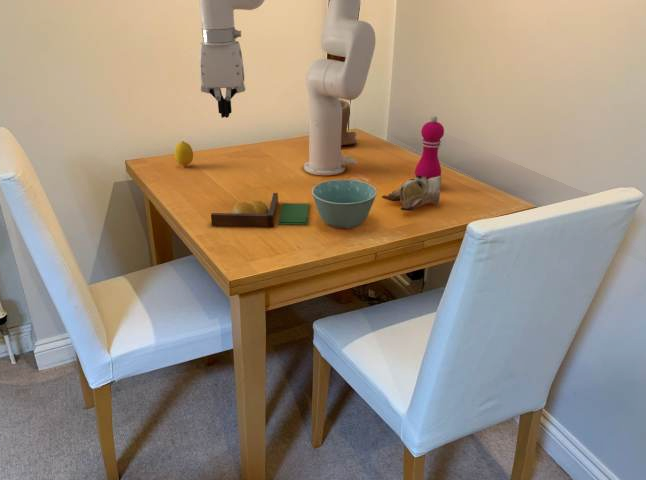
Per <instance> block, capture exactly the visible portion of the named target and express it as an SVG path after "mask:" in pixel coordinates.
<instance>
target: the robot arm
mask: <svg viewBox="0 0 646 480" xmlns="http://www.w3.org/2000/svg"><path fill="white" fill-rule="evenodd" d="M264 2H265V0H198V6H199V15H200V25H201V26H200V27H201V35H202V41H201V42H200V45H199V80H200V85H201V87H200V92H202V93H206V94H210V95H211V96H212V97H213V98H214V99H215V101H216V102H217V107H218V108H217V109H218V114H220V117H221V119H224V118H226V119H227V118H229V117H230V114H232V112H233V111H232V99H233V97H234V96H235V95H236V94H240V93H244V92H245V91H246V90H247V89H246V85H245V69H244V61H243V55H242V49H241V44H240V41H238V40H237V38H242V31H241V30H238V29H237V28H236V26H235V14H234V13H235V12H234V11H235V10H242V11H245V10H246V11H253V10H257V9H258V8H260V7H261V6H262V5H263V4H264ZM360 9H361V0H329V2H328V5H327V11H326V15H325V18H324V19H325V20H324V24H323V26H322V32H321V36H320V47H321V49H322V50H323V52H325V53H326V54H328V55H331V56H335V57H336V56H337V57H342V58H345V60H344V61H341V60H336V59H330V58H319V59H316V60H313V62H311V63H310V65H309V66H308V68H307V70H306V73H305V74H306V75H305V81H306V87H307V93H308V102H309V103H308V104H309V117H308V118H309V120H308V121H309V128H308V129H309V132H308V138H309V139H308V161H306V162H305V163H304V164H303V170H304V171H305V172H306V173H308V174H311V175H315V176H324V177H327V176H336V175H339V174H342V173H344V172H345V171H346V165H347V166H356V160H357V159H356V158H352V156H344V155H342V154H343V153H342V145H341V130H342V107H341V103H340V100H344V101H353V100H356V99H357V98H359V96H361V94H362V92H363V91H364V89H365V86H366V83H367V79H368V75H369V71H370V68H371V64H372V61H373V57H374V52H375V49H376V43H377V42H376V40H377V39H376V32H375V29H374V27H373V26H372V25H371V24H370V23H369V22H367V21H364V20H358V18H359V12H360ZM222 89H225V97H224V96H223V94H222ZM339 99H340V100H339Z"/></svg>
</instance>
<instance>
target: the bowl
mask: <svg viewBox="0 0 646 480" xmlns="http://www.w3.org/2000/svg"><path fill="white" fill-rule="evenodd" d="M311 194H312V197H313V201H314V204H315V207H316V209H317V212H318V215H319V217H320V219H321V221H322V222H324V224H326V225H328V226H329V227H332V228H335V229H341V230H347V229H348V230H349V229H354V228H356V227H359V226H360V225H361V224H363V223H364V222H365V221H366V220H367V218H368V216H369V213H370V211H371V209H372V207H373V204H374V202H375V199H376V197H377V194H378V191H377V189H376V187H375V186H373V185H372V184H370V183H368V182H365V181H361V180H356V179H331V180H330V179H329V180H325V181H322V182H319V183H317V184H315V185H314V186H313V187H312V189H311Z"/></svg>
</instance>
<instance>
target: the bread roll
mask: <svg viewBox="0 0 646 480" xmlns="http://www.w3.org/2000/svg"><path fill="white" fill-rule="evenodd" d="M269 209H270V208H269V207H268V205H267V204H266V203H265V202H264V201H262V200H250V201H247V202H245V201H241V202H239V201H238V202H237V203H236V204H235V205H234V206H233V208H232V213H240V214H267V213H269Z"/></svg>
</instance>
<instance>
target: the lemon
mask: <svg viewBox="0 0 646 480" xmlns="http://www.w3.org/2000/svg"><path fill="white" fill-rule="evenodd" d="M173 155H174V158H175V161H176V162H177V164H179V165H181V166H183V167H184V168H186V167H187V166H188V165H190V164H191V163H192V162H193V160H194V152H193V148H192V146H191V145H190V144H189V143H188V142H186V141H184V140H181V141H180V142H178V143H177V144H176V145H175V147H174V154H173Z"/></svg>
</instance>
